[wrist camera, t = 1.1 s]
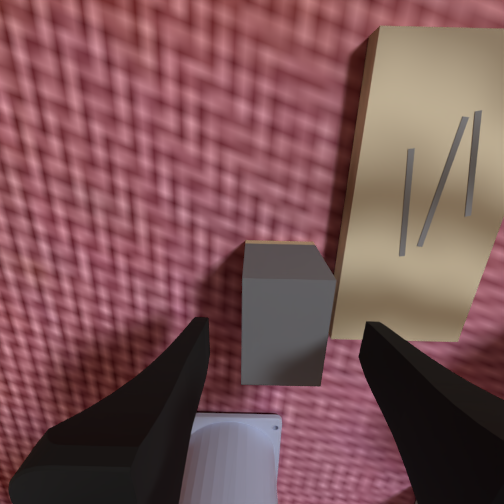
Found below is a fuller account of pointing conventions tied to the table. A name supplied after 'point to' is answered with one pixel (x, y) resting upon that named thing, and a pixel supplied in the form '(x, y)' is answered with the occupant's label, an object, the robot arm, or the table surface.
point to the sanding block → (285, 313)
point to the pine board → (422, 182)
